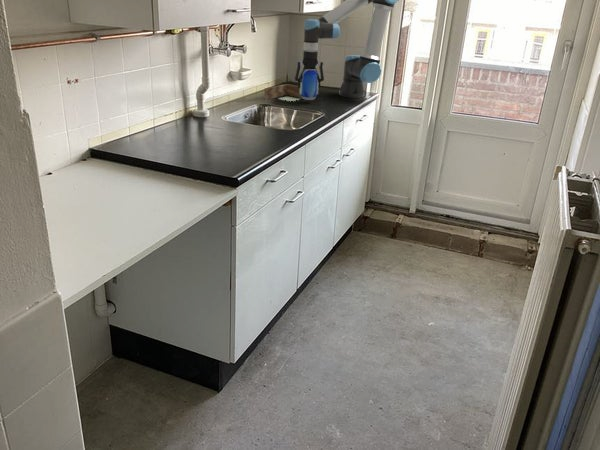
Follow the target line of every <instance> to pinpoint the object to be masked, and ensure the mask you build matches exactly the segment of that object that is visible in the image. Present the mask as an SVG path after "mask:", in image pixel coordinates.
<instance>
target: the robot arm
mask: <svg viewBox="0 0 600 450" xmlns="http://www.w3.org/2000/svg"><path fill="white" fill-rule="evenodd" d="M398 1H399V0H344V1H342V3H341V2H340V4H338V5H337V6H335V7H333V8H332V9H331V10H329V12H326V14H323V15H322V16H321V17H320V18H318V19H315V18H314V19H313V18H312V19H311V18H307V19H305V21H304V28H303V29H304V31H303V32H304V33H303V34H304V35H303V36H304V37H303V52H302V53H303V54H302V60H300V61H299V60H298V61H296V63H297V67H296V70H295V76H294V80H295V81H297V86H298V88H300V91H299V93H300V94H302V82H301V81H302V77H303V72H304V70H305V69H316V72H317V90H316V95H319V89H320V88H321V82H324V81H325V77H324V70H323V65H324V63H323V61H318V50H319V39H320V40H323V39H324V40H326V39H329V40H333V39H338V38H339V37H340V34H341V27H340V25H339V24H338V23H339V22H342V21H343V20H344V19H345V18H348V17H349V16H350V15H351V14H353V13H355V12H356V11H357V10H359V9H360V8H361V7H363V6H368V5H369V4H371V3H372V6H373V12H372V15H371V16H372V17H371V21H370V24H369V28H368V32H367V37H366V41H365V44H364V50H363V53H361V54H360V55H346V56H345V58H344V68H343V77H342V79H343V80H342V83H341V85H340V88H339V91H338V92H339V93H338V95H339V96H341V97H344V98H350V99H351V98H352V99H360V98H364V97H365V88H364V84H363V83H366V84H373V83H374V82H376V81H378V79H380V76H381V75H382V68H381V65H380V62H381V58H380V57H379V55H380V52H381V48H382V43H383V39H384V35H385V33H386V28H387V23H388V19H389V16H390V11H391V10H394V8H395V4H397V2H398ZM302 65H303V68H302V70H301V66H302ZM317 65H318V66H319V68H318V69H319V73H318V71H317V68H316V66H317ZM300 70H301V72H300ZM319 74H320V75H319Z"/></svg>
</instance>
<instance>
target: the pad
mask: <svg viewBox="0 0 600 450" xmlns="http://www.w3.org/2000/svg"><path fill="white" fill-rule="evenodd" d="M277 99H278V100H281V101H285V100H286V102H289V101H290V103H292V102H291V101H293V102H296V100H297V101H300V100H301V98H297V97H293V96H288V95H286V96H282V97H277Z"/></svg>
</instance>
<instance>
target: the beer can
mask: <svg viewBox="0 0 600 450" xmlns="http://www.w3.org/2000/svg"><path fill="white" fill-rule="evenodd" d="M316 70H317V68H316V69H305V70H304V72H303V77H302V80H301V82H302V94H301V97H302V98H301V99H303V100H305V101H307V100H308V101H313V100H315V99H316V97H317V94H316V90H317V81H318V80H317V73H318V71H317V72H316Z"/></svg>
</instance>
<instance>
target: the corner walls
mask: <svg viewBox="0 0 600 450" xmlns="http://www.w3.org/2000/svg"><path fill="white" fill-rule="evenodd" d="M299 91H300V88H298V85H293V84H289V83H285V84H280V85H274V86H269V87H265V88H264V92H263V96H264V97H263V98H264V100H267V101H268V100H270V99H271V100H272V99H274V98H282V97H285V96H288V95H289V96H288V97H293V96H294V97H293V98H297V97H298V99H302V97H301V94H300V93H299ZM284 95H285V96H284Z"/></svg>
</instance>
